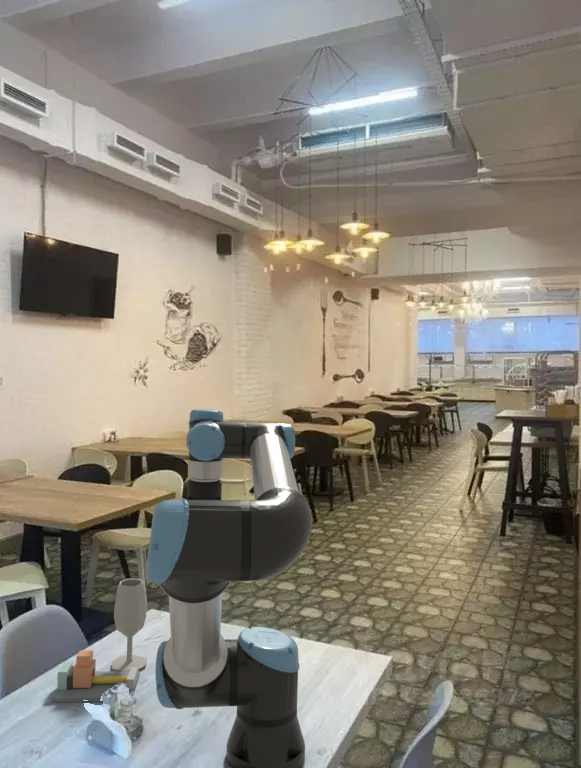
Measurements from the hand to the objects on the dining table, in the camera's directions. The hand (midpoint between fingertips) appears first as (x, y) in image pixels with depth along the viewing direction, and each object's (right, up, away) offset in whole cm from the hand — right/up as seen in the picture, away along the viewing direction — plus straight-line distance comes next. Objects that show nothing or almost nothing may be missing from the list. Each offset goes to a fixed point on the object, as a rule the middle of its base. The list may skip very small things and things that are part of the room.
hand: (202, 584), depth 138 cm
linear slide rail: (-25, -26, +5) cm, 36 cm away
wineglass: (-21, -26, +17) cm, 37 cm away
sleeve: (-28, -24, +5) cm, 37 cm away
